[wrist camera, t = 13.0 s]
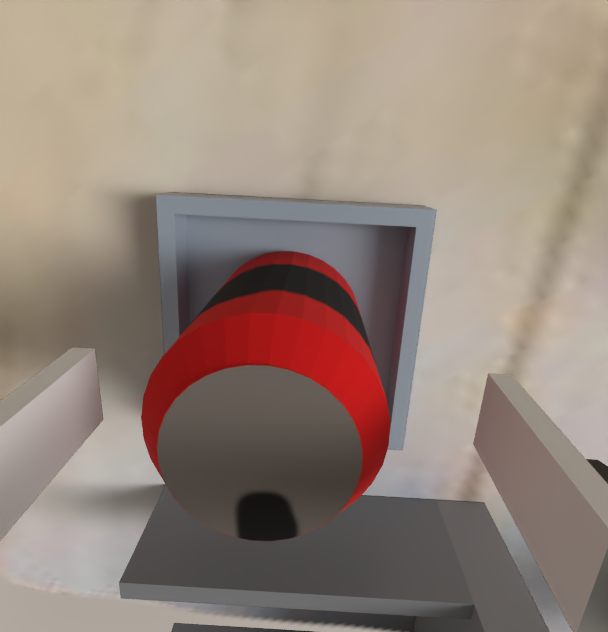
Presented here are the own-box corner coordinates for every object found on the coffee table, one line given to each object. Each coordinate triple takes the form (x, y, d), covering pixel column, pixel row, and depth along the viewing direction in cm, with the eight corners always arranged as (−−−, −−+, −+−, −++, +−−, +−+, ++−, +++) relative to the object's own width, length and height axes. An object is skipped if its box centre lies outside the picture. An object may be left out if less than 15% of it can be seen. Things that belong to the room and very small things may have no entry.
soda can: (227, 388, 25) (150, 571, 13) (206, 255, 23) (93, 340, 11) (362, 380, 24) (401, 561, 13) (355, 243, 22) (395, 318, 11)
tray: (172, 192, 22) (155, 194, 20) (423, 205, 22) (436, 209, 20) (182, 412, 26) (168, 436, 24) (394, 424, 26) (402, 450, 24)
